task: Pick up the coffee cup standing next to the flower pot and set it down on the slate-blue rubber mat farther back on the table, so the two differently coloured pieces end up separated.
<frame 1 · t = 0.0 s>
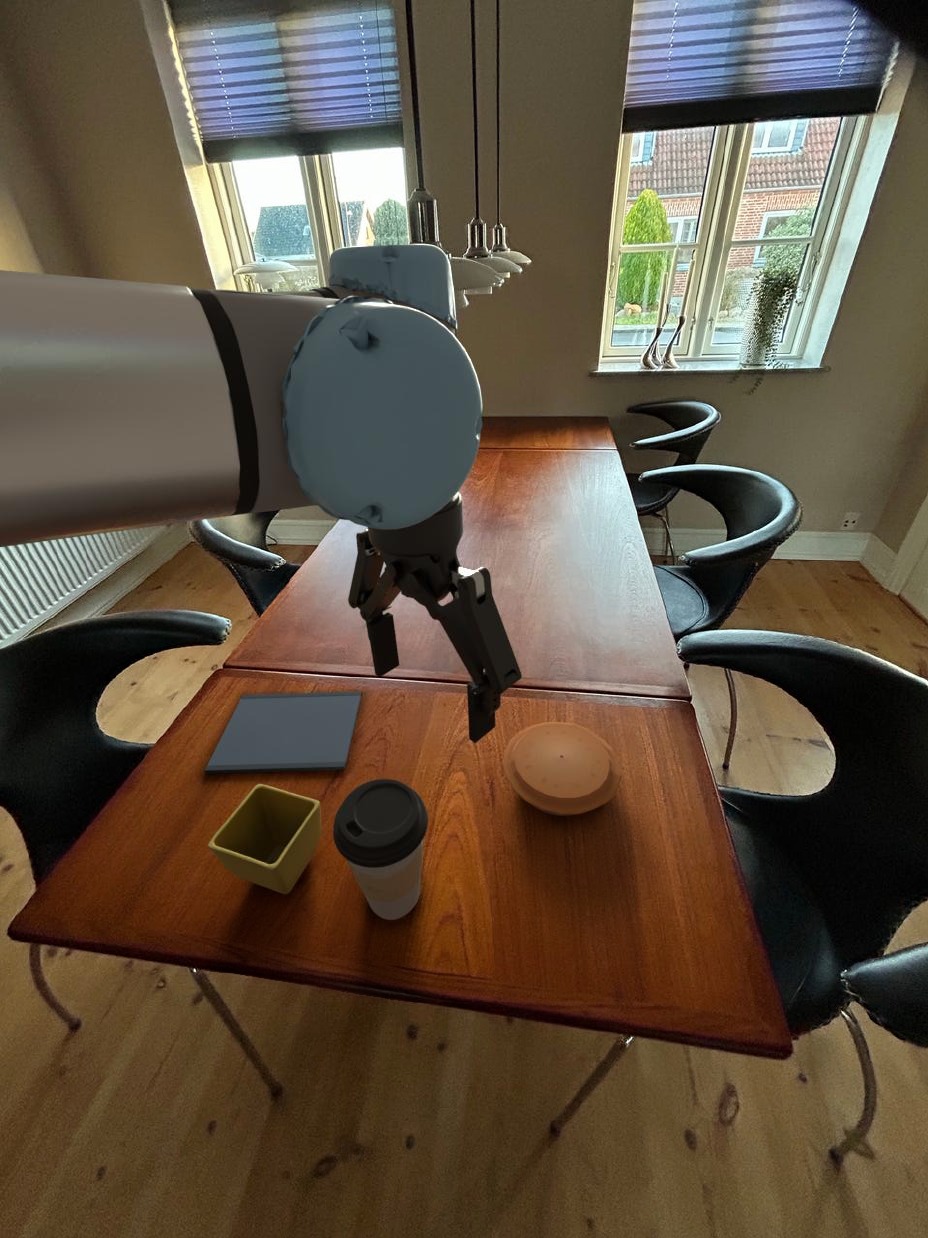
hand: (431, 699, 52), 24 cm above the table, tool pointing down, fingers open, 13 cm apart
cup mat: (290, 730, 82), on the table
coffee cup: (394, 894, 60), on the table
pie: (558, 782, 73), on the table
flower pot: (283, 869, 63), on the table
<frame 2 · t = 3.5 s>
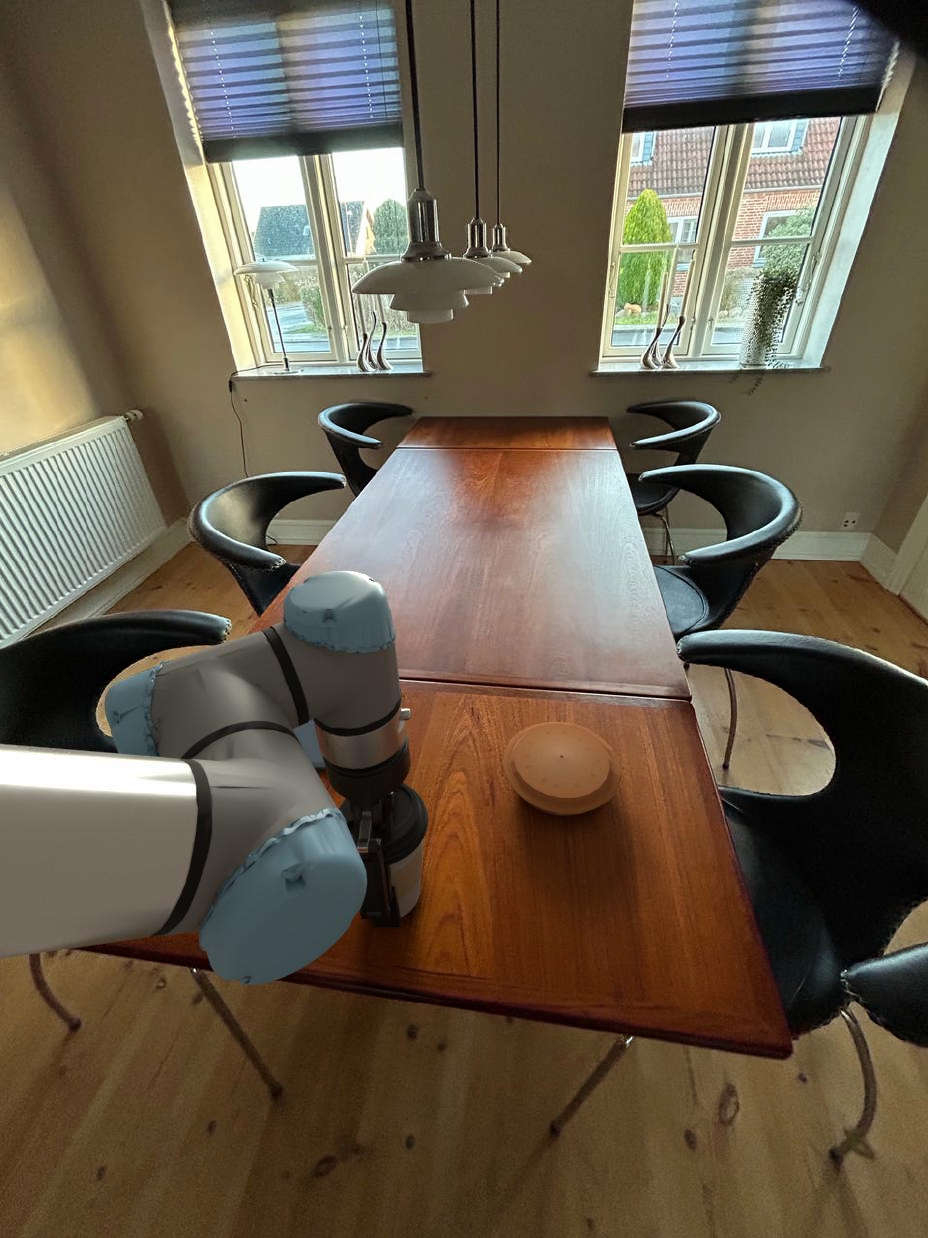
hand: (392, 882, 59), 2 cm above the table, tool pointing down, fingers closed on coffee cup, 8 cm apart
coffee cup: (394, 894, 60), on the table, touching gripper
everything else where it was.
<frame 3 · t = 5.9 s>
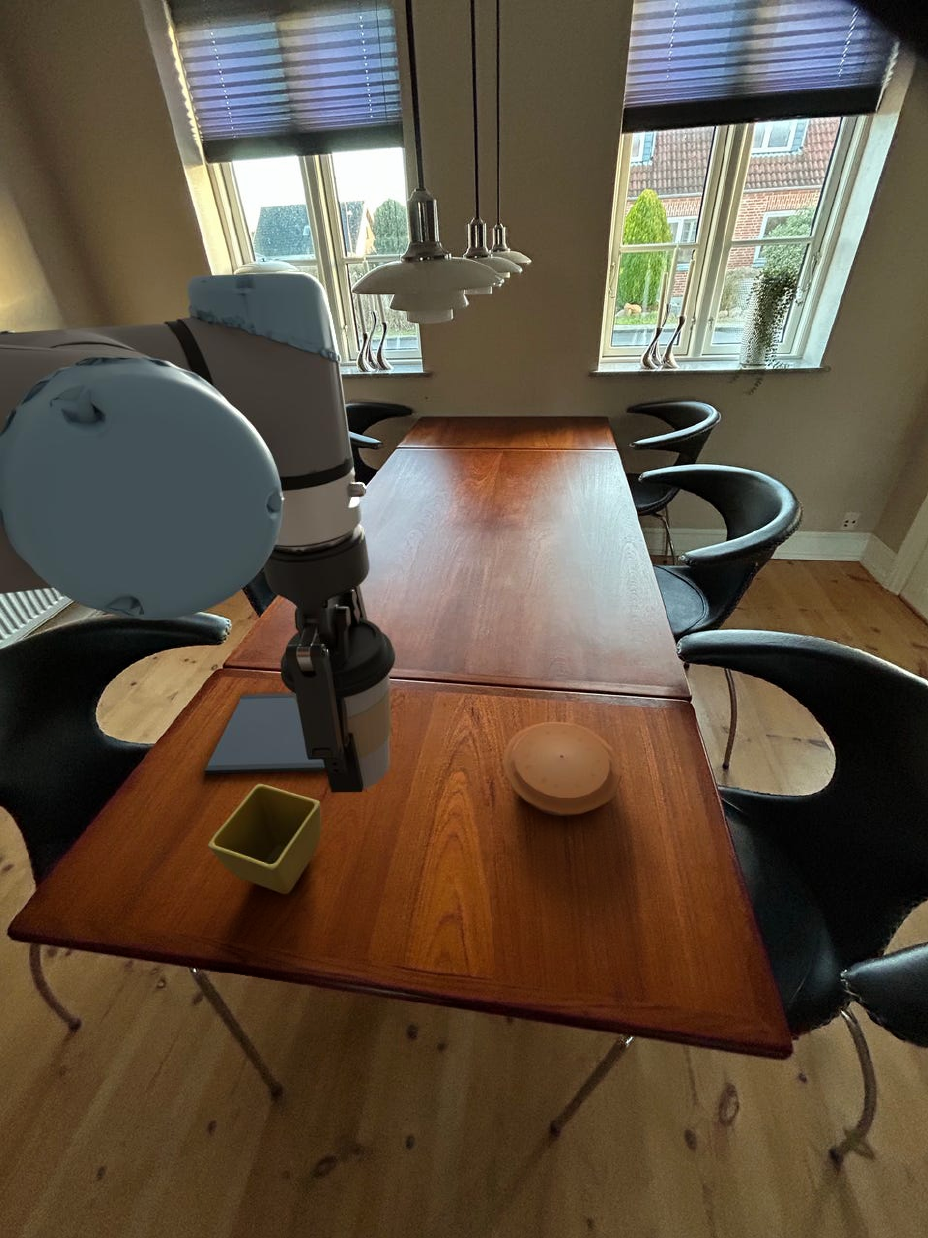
hand: (356, 750, 50), 21 cm above the table, tool pointing down, fingers closed on coffee cup, 8 cm apart
coffee cup: (360, 767, 52), point 19 cm above the table, touching gripper
everything else where it was.
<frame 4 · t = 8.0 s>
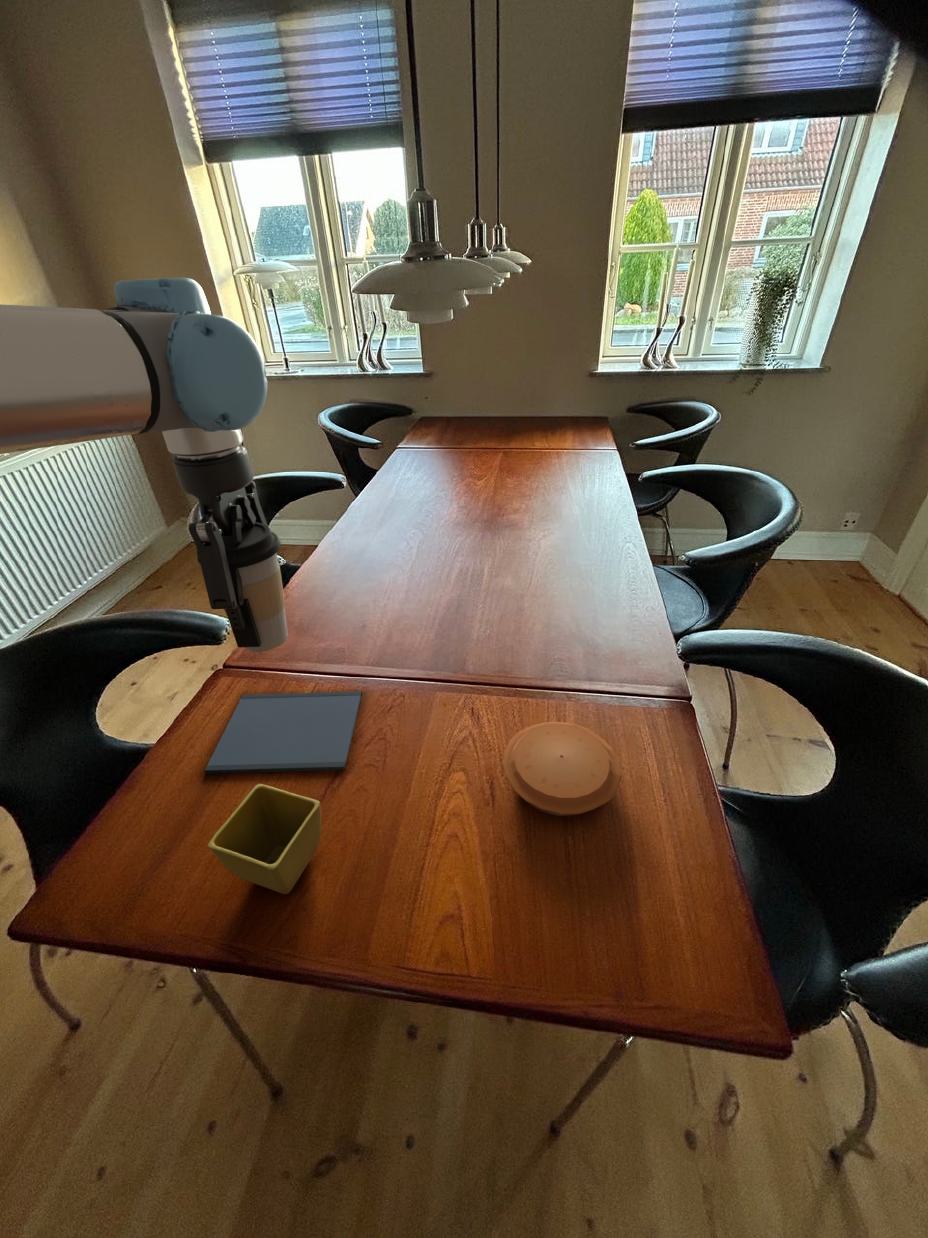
hand: (261, 624, 69), 21 cm above the table, tool pointing down, fingers closed on coffee cup, 8 cm apart
coffee cup: (266, 639, 71), point 19 cm above the table, touching gripper
everything else where it was.
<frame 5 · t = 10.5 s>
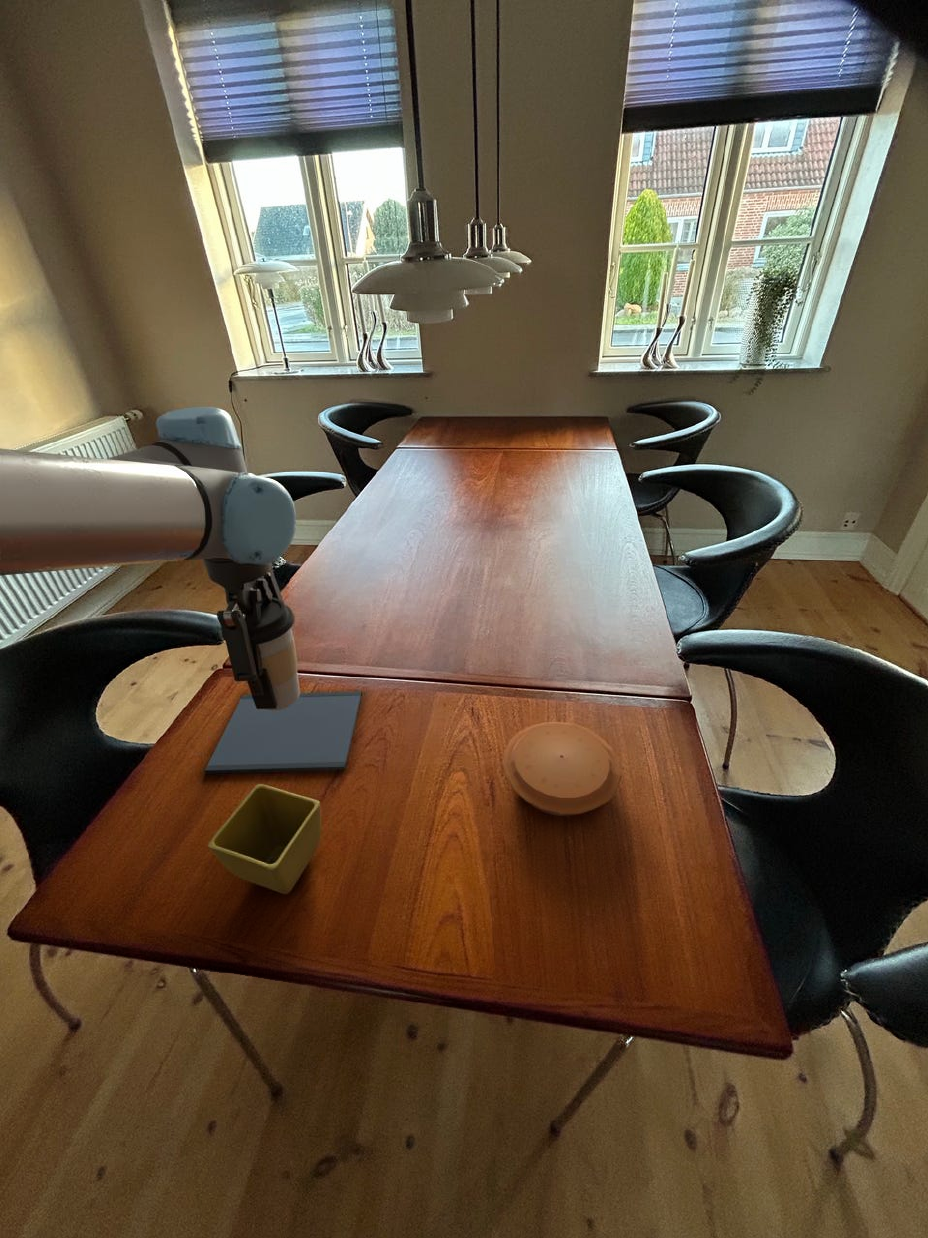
hand: (276, 685, 77), 9 cm above the table, tool pointing down, fingers closed on coffee cup, 8 cm apart
coffee cup: (280, 697, 78), point 7 cm above the table, touching gripper
everything else where it was.
when the fingers open (3 cm above the table, at t = 12.5 s): coffee cup stays where it is, resting on cup mat.
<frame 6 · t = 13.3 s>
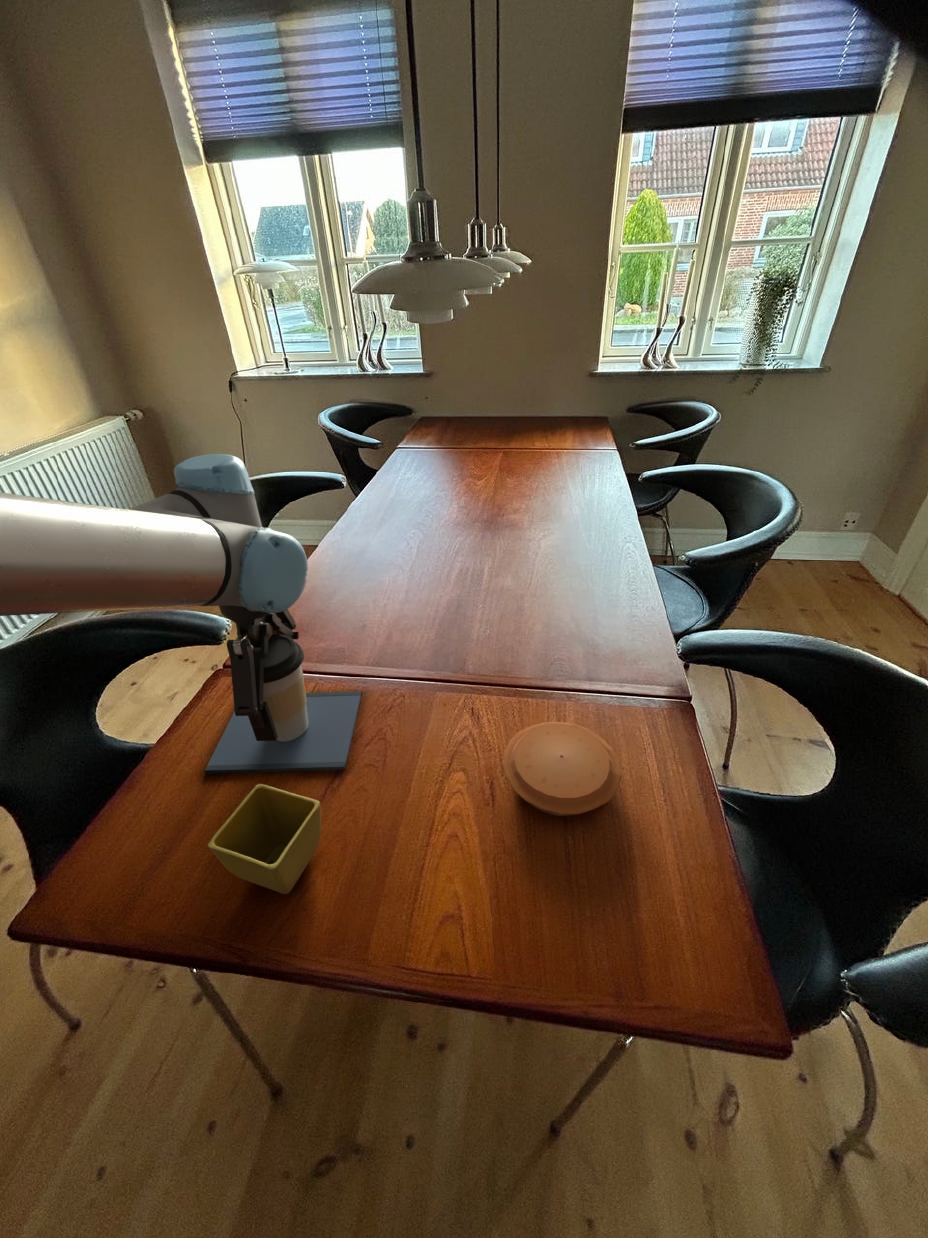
hand: (281, 705, 79), 5 cm above the table, tool pointing down, fingers open, 13 cm apart
coffee cup: (289, 728, 82), resting on cup mat
everything else where it was.
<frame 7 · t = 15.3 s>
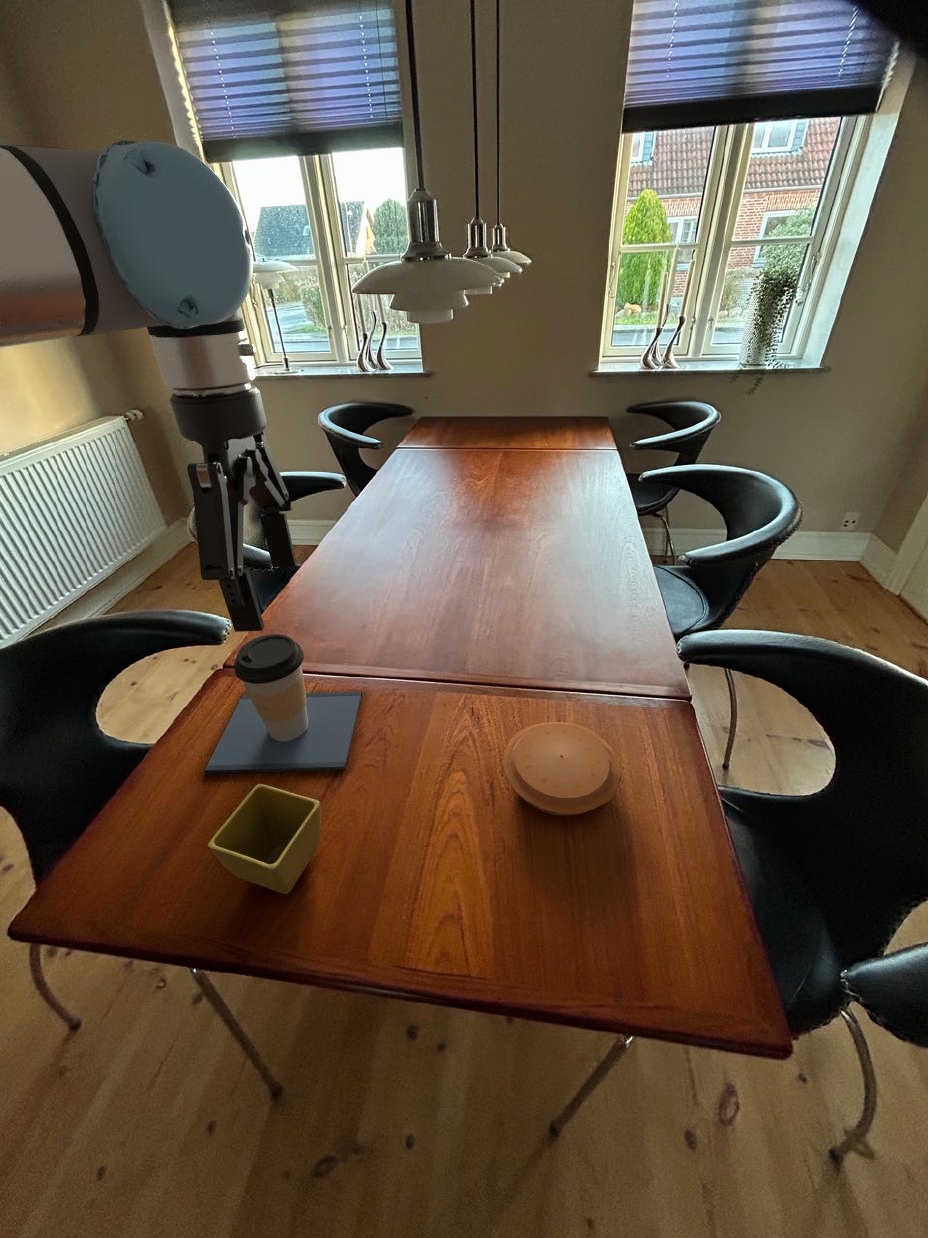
hand: (269, 594, 58), 30 cm above the table, tool pointing down, fingers open, 13 cm apart
nothing on the table moved.
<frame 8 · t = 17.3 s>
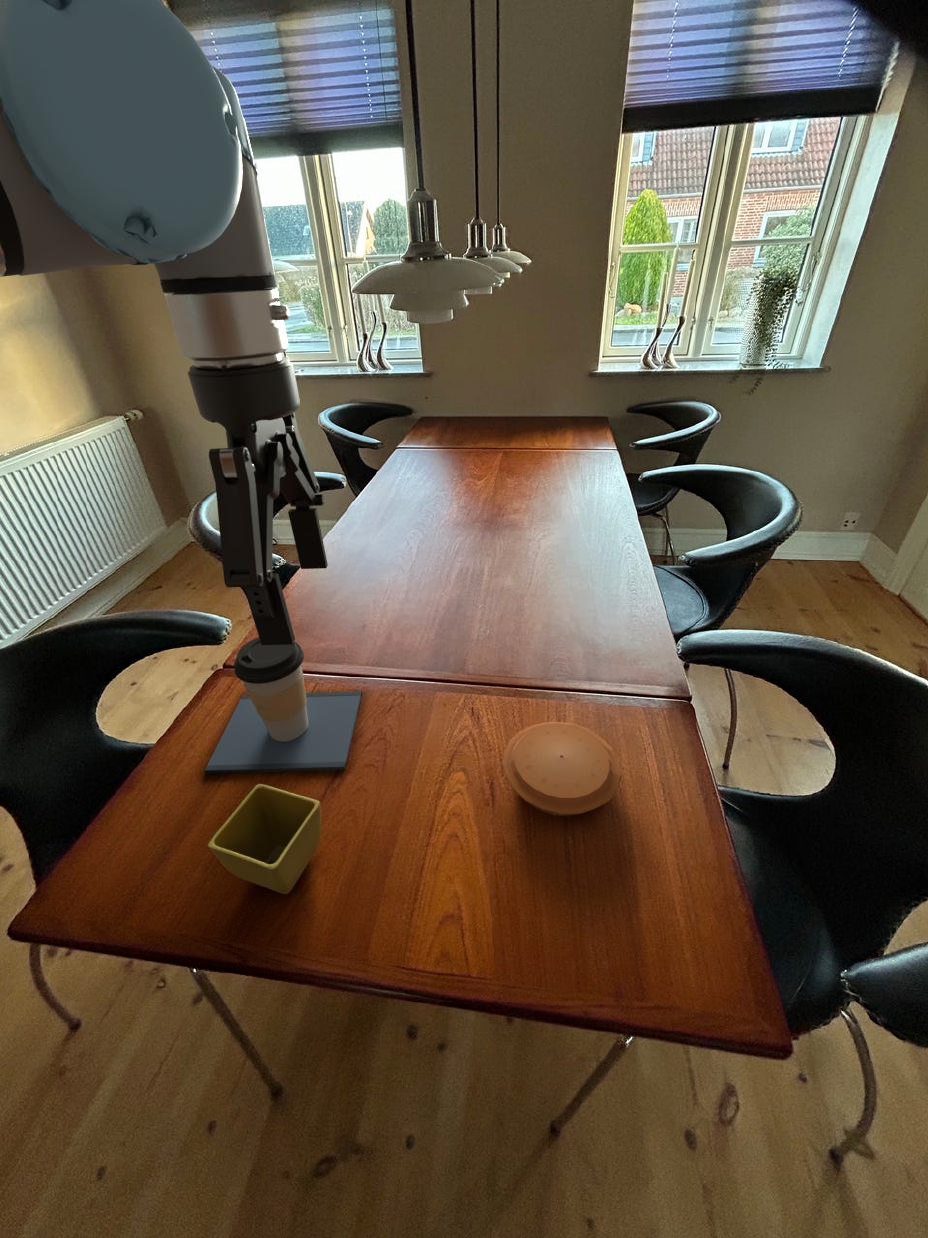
hand: (298, 601, 51), 33 cm above the table, tool pointing down, fingers open, 13 cm apart
nothing on the table moved.
at the end: coffee cup inside the target area on the cup mat (0.1 cm from its centre), point 0.4 cm above the cup mat's base; coffee cup tilted 0°; flower pot moved 0.2 cm from its start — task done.
